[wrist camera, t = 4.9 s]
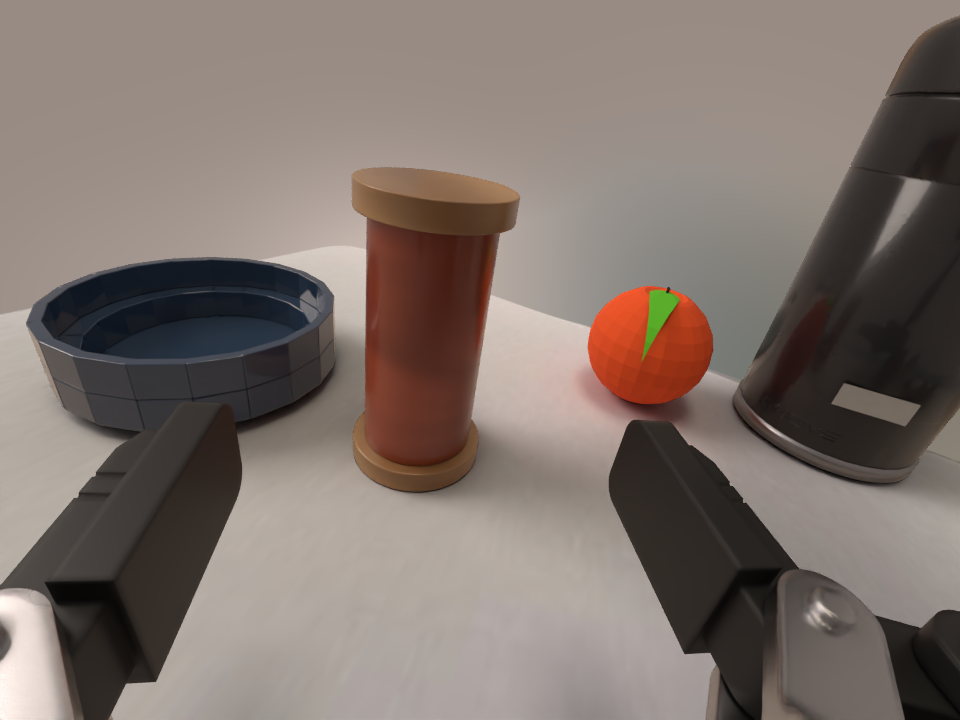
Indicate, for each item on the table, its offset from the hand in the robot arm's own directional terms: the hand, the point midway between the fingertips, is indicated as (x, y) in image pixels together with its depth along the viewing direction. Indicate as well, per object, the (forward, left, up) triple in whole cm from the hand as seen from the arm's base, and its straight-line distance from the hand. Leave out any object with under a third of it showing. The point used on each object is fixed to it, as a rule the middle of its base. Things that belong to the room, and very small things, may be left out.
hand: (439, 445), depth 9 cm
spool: (-4, -9, -8) cm, 13 cm away
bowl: (+3, -19, -8) cm, 21 cm away
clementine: (-18, -8, -9) cm, 21 cm away
